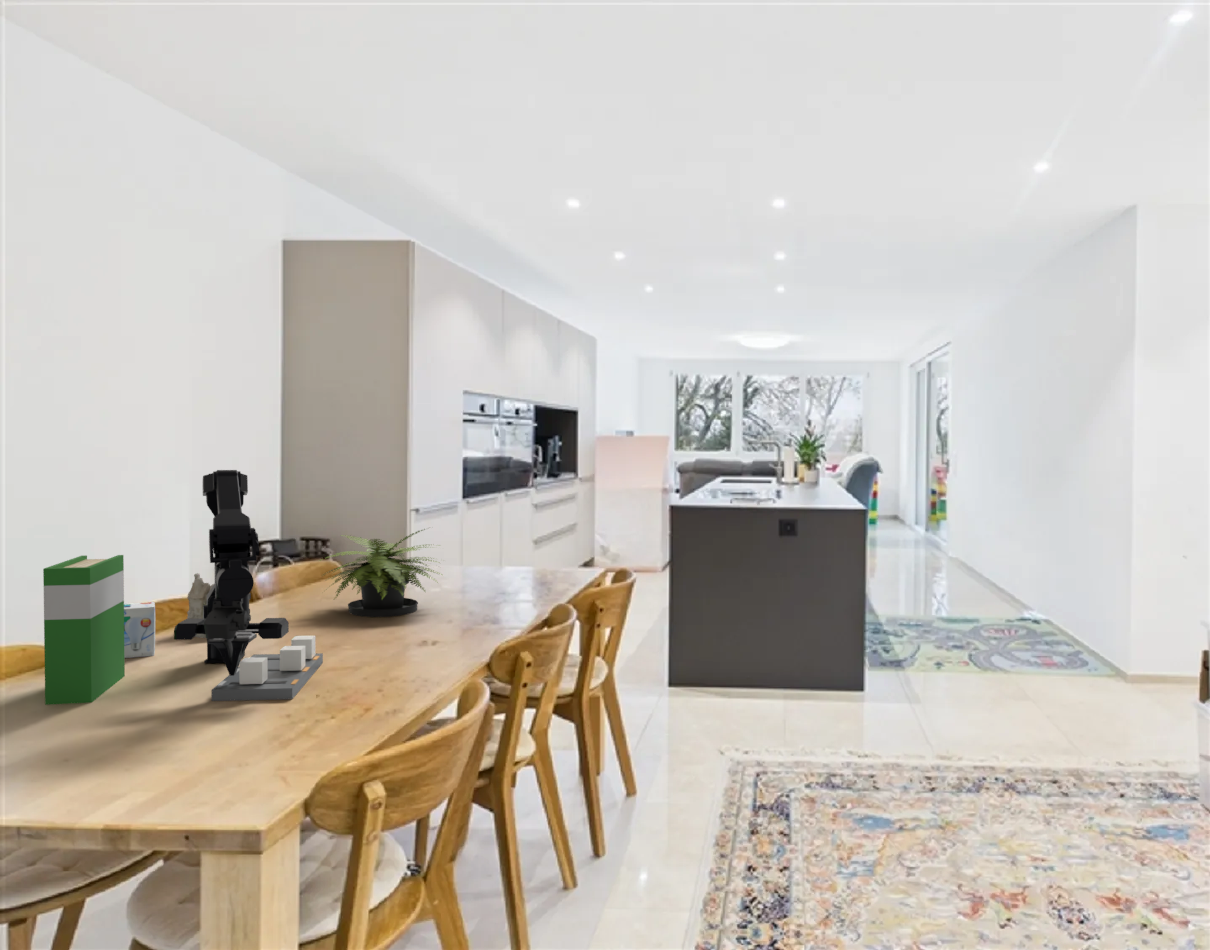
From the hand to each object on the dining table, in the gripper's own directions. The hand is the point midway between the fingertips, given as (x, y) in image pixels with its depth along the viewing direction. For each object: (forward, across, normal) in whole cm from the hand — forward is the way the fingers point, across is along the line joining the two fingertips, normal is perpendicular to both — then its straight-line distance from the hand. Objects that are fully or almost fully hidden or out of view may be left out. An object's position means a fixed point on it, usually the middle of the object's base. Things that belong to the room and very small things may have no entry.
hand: (232, 675), depth 160 cm
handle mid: (+1, +8, +9) cm, 13 cm away
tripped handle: (+1, +4, 0) cm, 4 cm away
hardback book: (+4, -28, +5) cm, 28 cm away
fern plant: (+4, +15, +80) cm, 81 cm away
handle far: (+1, +8, +18) cm, 20 cm away
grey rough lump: (+4, -20, +55) cm, 59 cm away
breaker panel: (+4, +4, +9) cm, 11 cm away
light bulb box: (+4, -32, +32) cm, 45 cm away
